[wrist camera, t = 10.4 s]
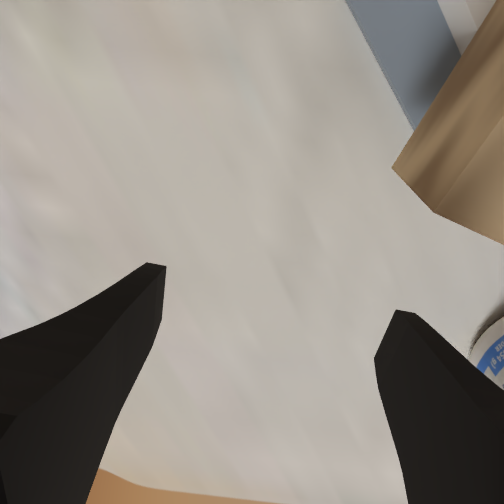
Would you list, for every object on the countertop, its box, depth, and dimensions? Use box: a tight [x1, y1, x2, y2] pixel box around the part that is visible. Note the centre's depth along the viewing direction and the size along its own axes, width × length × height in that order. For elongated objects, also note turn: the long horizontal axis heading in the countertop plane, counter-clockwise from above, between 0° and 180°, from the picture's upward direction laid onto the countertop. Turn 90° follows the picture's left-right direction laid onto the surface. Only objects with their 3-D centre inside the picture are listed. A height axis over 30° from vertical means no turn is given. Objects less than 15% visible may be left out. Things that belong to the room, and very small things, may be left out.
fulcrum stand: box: [345, 0, 496, 131], centre depth 15 cm, size 10×8×3 cm
